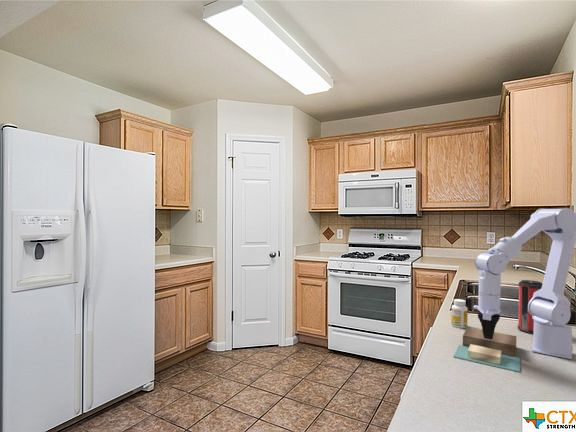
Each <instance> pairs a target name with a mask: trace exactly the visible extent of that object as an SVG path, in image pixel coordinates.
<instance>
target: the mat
mask: <svg viewBox="0 0 576 432" xmlns="http://www.w3.org/2000/svg"><path fill="white" fill-rule="evenodd" d="M468 349H469V347H467V346H463V344H462V345H461V344H459V345H458V346H457V348H456V349H455V353H454V354H453V358H455V359H459V360H460V359H461V360H463V361H464V360H465V361H469V362H474V363H477V364H482V365H485V366H486V365H487V366H491V367H495V368H500V369H504V370H508V371H512V372H517V373H520V372H521V370H520V368H521V358H520V357H519V356H516V357H514V356H510V355H505V354H501V362H500V365H499V364H495V363H490V362H486V361H482V360H477V359H473V358H469V357H468Z"/></svg>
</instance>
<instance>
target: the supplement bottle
mask: <svg viewBox="0 0 576 432" xmlns="http://www.w3.org/2000/svg"><path fill="white" fill-rule="evenodd" d="M466 302H467V301H466V300H464V299H460V298H455V299H453V304H452V306H451V314H450V315H451V320H450V321H451V322H450V323H451V326H453V327H454V328H456V329H457V328H458V329H465V328H467V327H468V307H467V306H466Z"/></svg>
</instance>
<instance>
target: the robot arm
mask: <svg viewBox="0 0 576 432" xmlns="http://www.w3.org/2000/svg"><path fill="white" fill-rule="evenodd" d="M540 232H544V233H545V234H546V235H547V236H549V237H550V239H551V240H552V241H551V242H552V243H551V246H550V250H549V255H548V257H547V258H548V259H547V264H546V267H545V272H544V275H543V281H542V288H541V289H540V290H538V291H536V292H534V294H533V297H532V299H531V300H530V301H529V303H528V311H529V313H530V314H531V315H532V319H534V334H532V335H533V341H532V342H531V352H534V353H539V354H543V355H547V356H548V355H549V356H553V357H559V358H564V359H569V360H572V358H573V357H572V355H573V354H572V353H573V349H574V348H573V329H572V326H571V325H567V324H568V323H569V322H570V319H571V317H572V313H571V305H572V304H571V301H570V300H569V298H567V297H566V295H565V294H564V293H565V288H566V286H567V285H566V284H567V279H568V276H569V275H568V274H569V271H570V267H571V263H572V257H573V254H574V250H575V246H576V212H575V211H574V210H573V209H572V208H570V207H569V208H568V207H564V208H544V207H543V208H538V209H537V210H536V211H535V212H533V213H532V214H531V215H530V219H529V220H528V221H526V222H525V223H524V224H523V225H522V226H521V227H520V228H519V229H518V230H517V231H516V232H515V233H514V234H513V235H512V236H506V237H500V239H498V242H497V243H496V244H495V245H494V246H493V247H492V248H491V247H490V248H488V250H487V252H482V253H480V254H478V255H477V257H476V260H474V265H475V269H476V270H477V275H478V295H477V296H478V298H477V299H478V301H477V302H478V303H477V304H478V305H476V304H474V305H473V309H475V310H478V311H479V312H478V313H477V318H478V320H479V322H480V325H481V330H483V335H484V338H486V339H491V340H492V338H493V335H494V332H495V330H496V326H497V323H498V322H499V321H500V318H501V314H500V313H501V312H502V309H501V291H502V290H501V287H502V286H501V285H502V284H501V283H502V282H501V281H502V273H504V272H505V271H506V268H507V265H508V263H510V261H511V260H512V259H513V258H515V257H516V256H517V255H519V253H521V251H522V250H523V249H522V247H523V246H522V245H523V244H525V243H527V242H528V241H530V240H531V239H532V238H533V237H534V236H537V234H539V233H540Z"/></svg>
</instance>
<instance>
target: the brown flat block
mask: <svg viewBox="0 0 576 432" xmlns="http://www.w3.org/2000/svg"><path fill="white" fill-rule="evenodd" d="M517 339H518V338H517V335H511V334H508V333H502V332H496V331H494V335H493V338H492V340H491V339H486V338H484V335H483V330H482V329H479V328H473V327H468V326H467V327H466V329H465V331H464V332H463V334H462V346H467V347H469V346H470V344H472V345H477V346H482V347H486V348H491V349H496V350H501V351H502V352H501V354H505V355H510V356H514V357H517Z"/></svg>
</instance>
